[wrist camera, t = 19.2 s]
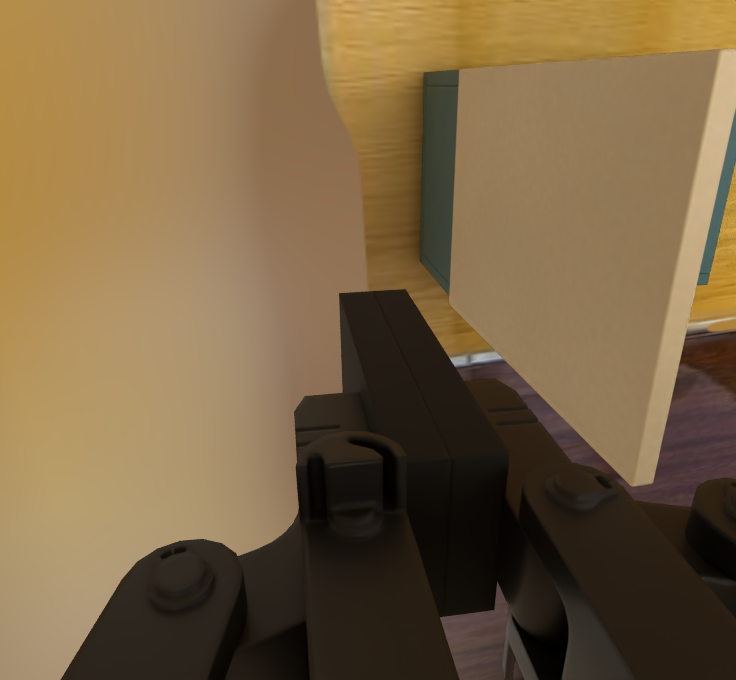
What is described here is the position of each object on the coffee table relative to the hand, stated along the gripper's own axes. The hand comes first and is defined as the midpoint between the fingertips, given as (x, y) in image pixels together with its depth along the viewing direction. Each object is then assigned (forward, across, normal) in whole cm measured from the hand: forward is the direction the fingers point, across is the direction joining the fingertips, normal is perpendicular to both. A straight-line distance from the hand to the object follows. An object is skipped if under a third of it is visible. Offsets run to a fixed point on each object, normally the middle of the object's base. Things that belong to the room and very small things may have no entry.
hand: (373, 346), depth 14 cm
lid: (+10, -9, 0) cm, 14 cm away
